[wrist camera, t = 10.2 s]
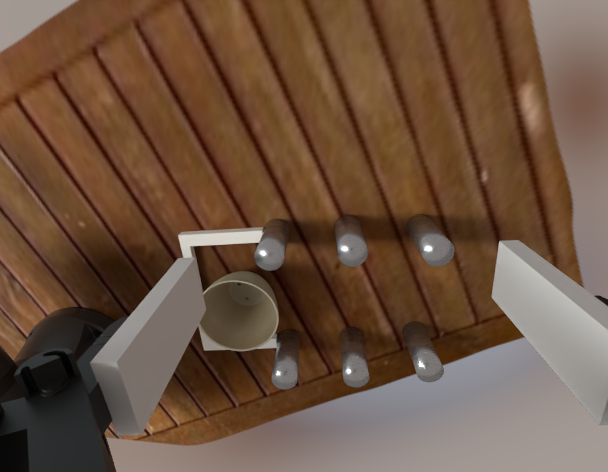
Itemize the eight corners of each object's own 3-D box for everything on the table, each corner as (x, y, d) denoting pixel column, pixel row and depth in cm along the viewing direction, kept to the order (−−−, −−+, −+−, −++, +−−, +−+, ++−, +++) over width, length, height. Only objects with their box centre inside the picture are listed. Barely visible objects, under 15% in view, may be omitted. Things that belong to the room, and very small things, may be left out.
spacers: (279, 347, 53) (272, 389, 45) (263, 219, 45) (252, 244, 38) (424, 342, 51) (442, 384, 44) (432, 209, 44) (456, 233, 37)
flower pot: (298, 295, 49) (295, 327, 43) (243, 329, 52) (231, 363, 45) (253, 241, 47) (242, 265, 40) (197, 279, 49) (178, 308, 42)
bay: (206, 345, 53) (204, 350, 52) (181, 231, 46) (178, 235, 45) (278, 342, 52) (277, 347, 51) (263, 227, 46) (262, 230, 45)
